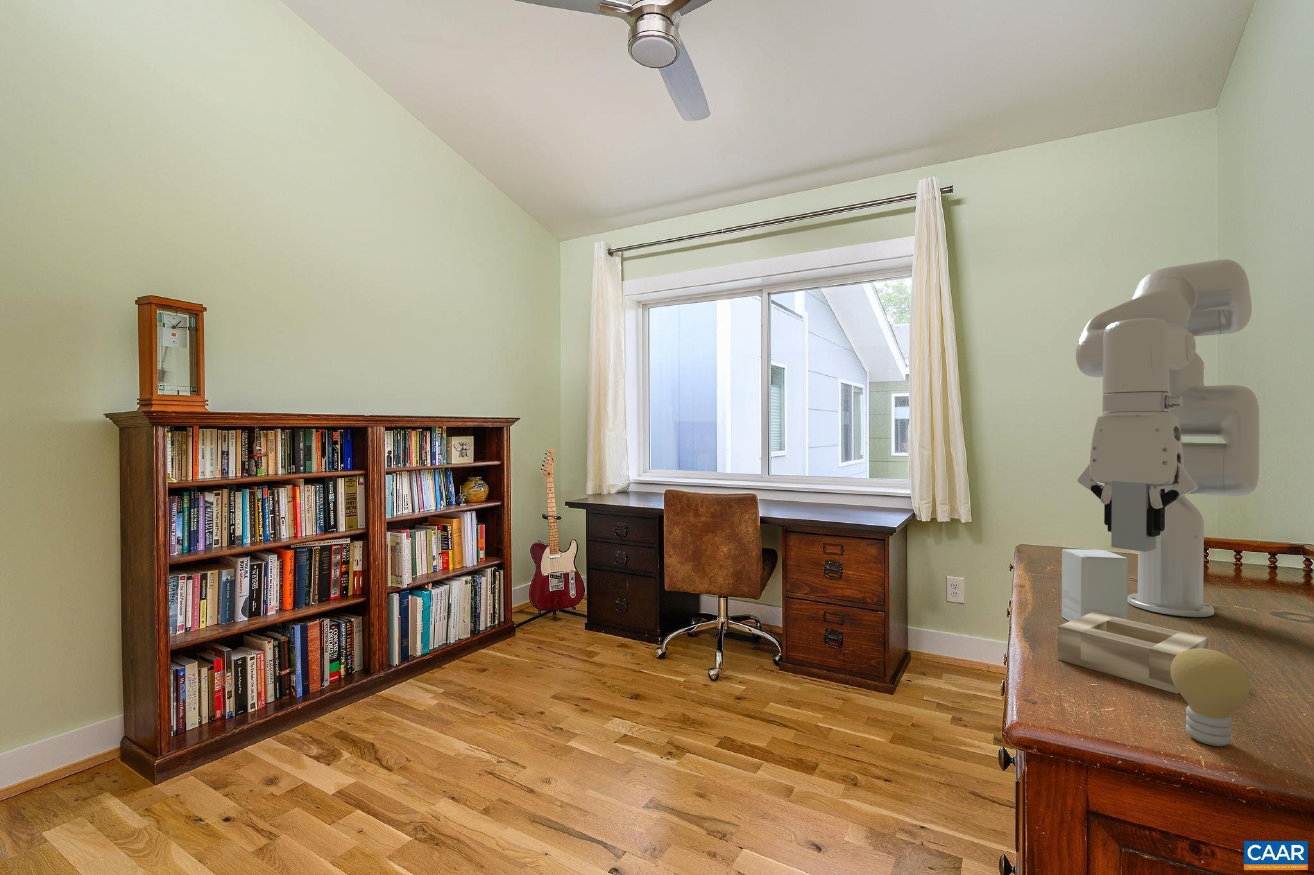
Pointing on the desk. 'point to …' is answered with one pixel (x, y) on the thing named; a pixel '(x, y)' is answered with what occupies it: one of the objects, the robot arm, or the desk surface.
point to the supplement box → (1094, 583)
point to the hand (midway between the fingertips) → (1133, 532)
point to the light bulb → (1209, 692)
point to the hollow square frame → (1125, 648)
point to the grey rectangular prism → (1130, 517)
